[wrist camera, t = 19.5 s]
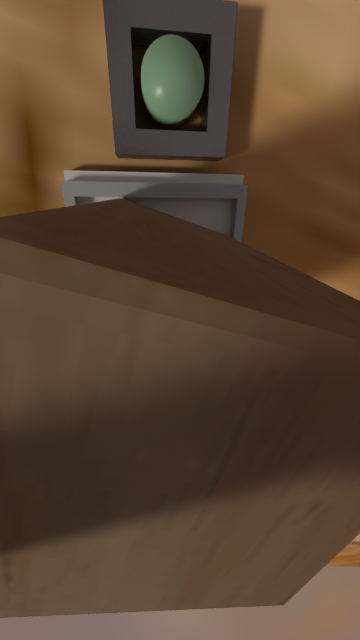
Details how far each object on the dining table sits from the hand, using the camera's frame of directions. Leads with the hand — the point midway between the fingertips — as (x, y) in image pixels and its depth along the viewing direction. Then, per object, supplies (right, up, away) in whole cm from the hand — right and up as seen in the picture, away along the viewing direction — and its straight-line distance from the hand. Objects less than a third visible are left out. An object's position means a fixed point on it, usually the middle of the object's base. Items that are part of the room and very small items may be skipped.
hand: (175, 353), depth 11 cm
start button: (-1, +18, +7) cm, 19 cm away
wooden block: (-2, +6, +13) cm, 14 cm away
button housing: (-1, +18, +8) cm, 20 cm away
